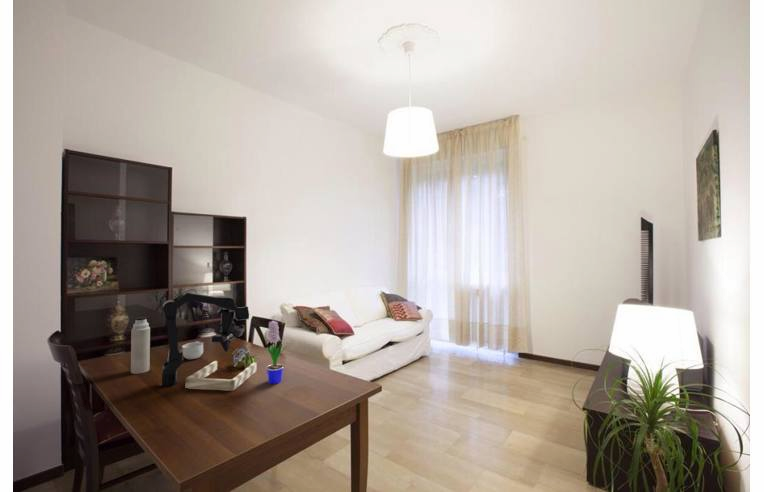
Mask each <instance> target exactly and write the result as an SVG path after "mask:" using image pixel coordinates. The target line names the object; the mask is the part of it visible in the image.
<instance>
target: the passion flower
mask: <svg viewBox="0 0 764 492" xmlns="http://www.w3.org/2000/svg"><path fill="white" fill-rule="evenodd" d="M249 347H250V346H249V344H247V345H246V346H242V347H241V348H235V349H234V350H233V352H232V354H231V356H233V357H232V362H233V364H234V365H233V367H234V368H235V367H237V366H238V365H239V364H240V362H242V363H243V365H244V370H245V369H246V368H247V367H249V366H250V365H251V364H252V363H254V362H255V361H257V360H259V354H255V355H250V350H249Z"/></svg>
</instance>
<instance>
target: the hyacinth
mask: <svg viewBox="0 0 764 492" xmlns="http://www.w3.org/2000/svg"><path fill="white" fill-rule="evenodd" d="M279 329H280V327H279V322H278V321H275V320H271V321H269V322H268V330H267V336H268V341H269V342H270V344H273V345H270V346H269V347H265V348H266V349H267V350H268V352H269V355H270V356H271V357H270V358H271V360H272V363H271V364H268V365H267V366H266V374H267V382H268V384H271V385H277V384H280V383H281V382H282V381H283V371H284V367H285V366H284V365H283V364H282V363H278V362H277V361H278V359H279V357H280V355H281V353H282V352H283V351H285V349H286V348H287V346H285V347H284V348H283V349H282V346H283V343H282V342H281V337H280V331H279ZM276 342H277V343H278V342H281V343H280V344H279V345H278V347H277V346H276V345H277V343H276ZM276 347H277V348H276Z"/></svg>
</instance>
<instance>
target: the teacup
mask: <svg viewBox="0 0 764 492" xmlns="http://www.w3.org/2000/svg"><path fill="white" fill-rule="evenodd" d="M181 349H182V351H183V355H182V356H183V358H185V359H187V360H196V359H198V358H200V357H201V356H202V355H203V353H204V342H201V341H197V340H196V341H194V342H189V343H186V344H183V345H182V346H181Z"/></svg>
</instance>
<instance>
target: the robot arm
mask: <svg viewBox="0 0 764 492" xmlns="http://www.w3.org/2000/svg"><path fill="white" fill-rule="evenodd" d="M188 302H194V303H200V304H202V303H203V304H208V305H209V304H210V305H214V306H217V307H220V308H219V309H218V310H217V311H216V312H217V314H220V318H221V320H220V323H218V324H219V325H218V326H219V327H220V330H219V332H218V334H214V335H213V336H212V337H211V341H210V342H211V343H220V345H221V347H222V348H223V351H224V352H227V353H228V351H229V349H230V345H231V342H232V340H234V339H235V338H236V337H237V338H240V337H241V336H243V334H244V333H245V331H246V330H245V329H246V327H245V325H244V324H240V325H236V322H234V319H235V320H236V321H243V320H249V318H250V312H249V307H248V306H241V307H238V306H237V305H236V304H235V300H234V299H233V298H232V297H231V296H229V295H228V296H227V295H225V296H224V295H221V296H219V295H218V296H215V295H214V296H213V295H207V294H201V293H193V292H190V291H185V292H184V293H183V294H181V295H179V296H177V297H175V298H173V299H168V300H166V301H164V303H163V305H162V311H163V313H164V316H165V320H166V323H167V325H166V326H167V336H168V356H167V359H166V361H165V362H164V363H163V364H162V373H161V383H160V384H158V387H168V388H169V387H170V388H171V387H174V386H175V385H176V384H178V383H180V382H181V380H179V379H178V368H180V367H181V366H182V362H184V356H183V348H181V349H179V346H178V345H179V344H178V332H177V331H178V330H177V315H178V314H177V313H178V309H179V308H181V307H182V306H184V305H185V304H187V303H188ZM223 308H224V309H223Z"/></svg>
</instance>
